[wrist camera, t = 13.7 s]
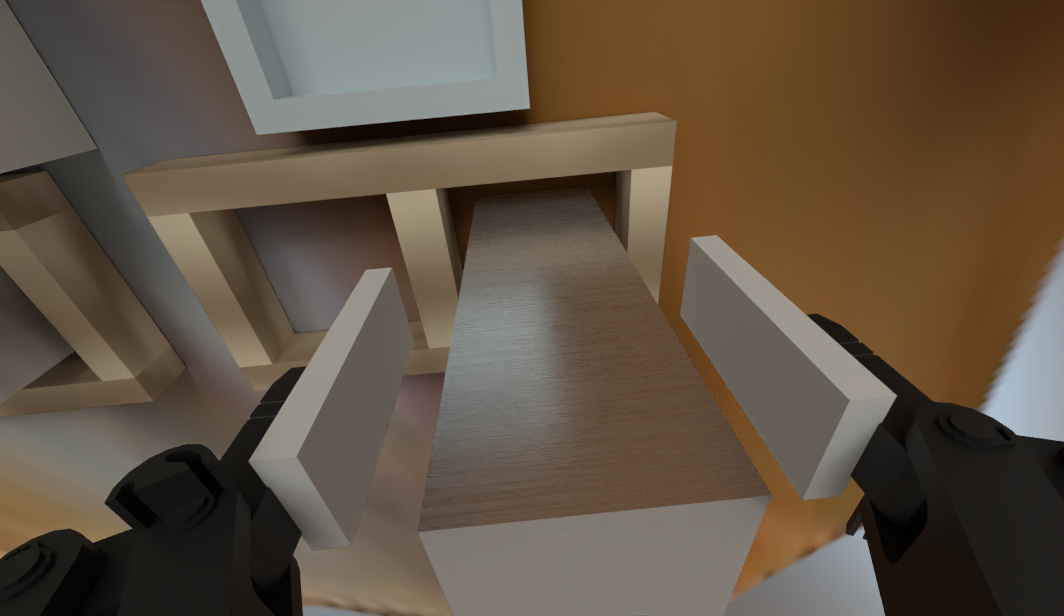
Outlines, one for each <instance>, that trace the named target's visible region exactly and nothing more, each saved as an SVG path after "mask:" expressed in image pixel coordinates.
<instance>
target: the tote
mask: <svg viewBox="0 0 1064 616" xmlns="http://www.w3.org/2000/svg"><path fill="white" fill-rule="evenodd" d="M201 2H202V4H203V7H204V9H205V11H206V14H207V16H208V19H209V21H210V23H211V26H212V28H213V31H214V33H215V35H216V38H217V40H218V43H219V45H220V47H221V50H222V52H223V55H224V57H225V59H226V62H227V64H228V67H229V69H230V71H231V74H232V76H233V79H234V81H235V83H236V86H237V88H238V91H239V93H240V95H241V98H242V100H243V103H244V105H245V107H246V110H247V112H248V115H249V117H250V119H251V122H252V124H253V127H254V129H255V131H256V134H257V135H261V134H271V133H282V132H292V131H302V130H313V129H323V128H333V127H344V126H354V125H364V124H375V123H385V122H395V121H406V120H416V119H426V118H437V117H447V116H457V115H468V114H478V113H488V112H499V111H509V110H519V109H530V102H529V89H528V76H527V63H526V49H525V36H524V23H523V9H522V0H201Z"/></svg>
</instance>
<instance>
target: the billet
mask: <svg viewBox="0 0 1064 616" xmlns="http://www.w3.org/2000/svg"><path fill="white" fill-rule="evenodd" d="M771 497H772V495H771V493H770V491H769V490H768V488H767V486H766V485H765V483H764V481H763V480H762V478H761V476H760V475H759V473H758V471H757V470H756V468H755V466H754V465H753V463H752V461H751V459H750V458H749V456H748V454H747V453H746V451H745V449H744V448H743V446H742V444H741V443H740V441H739V439H738V438H737V436H736V434H735V433H734V431H733V429H732V428H731V426H730V424H729V423H728V421H727V419H726V418H725V416H724V414H723V413H722V411H721V409H720V408H719V406H718V404H717V403H716V401H715V399H714V398H713V396H712V394H711V393H710V391H709V389H708V388H707V386H706V384H705V383H704V381H703V379H702V378H701V376H700V374H699V373H698V371H697V369H696V368H695V366H694V364H693V363H692V361H691V359H690V357H689V356H688V354H687V352H686V351H685V349H684V347H683V346H682V344H681V342H680V341H679V339H678V337H677V336H676V334H675V332H674V331H673V329H672V327H671V326H670V324H669V322H668V321H667V319H666V317H665V316H664V314H663V312H662V311H661V309H660V307H659V306H658V304H657V302H656V301H655V299H654V297H653V296H652V294H651V292H650V291H649V289H648V287H647V286H646V284H645V282H644V281H643V279H642V277H641V276H640V274H639V272H638V271H637V269H636V267H635V266H634V264H633V262H632V261H631V259H630V257H629V256H628V254H627V252H626V250H625V249H624V247H623V245H622V244H621V242H620V240H619V239H618V237H617V235H616V234H615V232H614V230H613V229H612V227H611V225H610V224H609V222H608V220H607V219H606V217H605V215H604V214H603V212H602V210H601V209H600V207H599V205H598V204H597V202H596V200H595V199H594V197H593V195H592V194H591V192H590V190H589V189H588V187H577V188H567V189H557V190H547V191H536V192H526V193H516V194H506V195H496V196H485V197H476V202H475V208H474V214H473V219H472V225H471V231H470V236H469V242H468V248H467V253H466V259H465V265H464V271H463V276H462V282H461V288H460V293H459V299H458V305H457V311H456V316H455V322H454V328H453V333H452V339H451V345H450V351H449V356H448V362H447V368H446V373H445V379H444V385H443V390H442V396H441V402H440V408H439V413H438V419H437V425H436V430H435V436H434V442H433V448H432V453H431V459H430V465H429V470H428V476H427V482H426V487H425V493H424V499H423V505H422V510H421V516H420V522H419V527H418V534H419V536H420V539H421V541H422V543H423V546H424V548H425V550H426V553H427V555H428V557H429V560H430V562H431V564H432V567H433V569H434V571H435V574H436V576H437V578H438V580H439V583H440V585H441V587H442V590H443V592H444V594H445V597H446V599H447V601H448V604H449V606H450V608H451V611H452V613H453V615H454V616H723V615H724V612H725V610H726V607H727V605H728V602H729V600H730V597H731V595H732V593H733V590H734V588H735V585H736V583H737V580H738V578H739V575H740V573H741V570H742V568H743V565H744V563H745V561H746V558H747V556H748V553H749V551H750V548H751V546H752V543H753V541H754V538H755V536H756V533H757V531H758V529H759V526H760V524H761V521H762V519H763V516H764V514H765V511H766V509H767V506H768V504H769V502H770V499H771Z"/></svg>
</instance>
